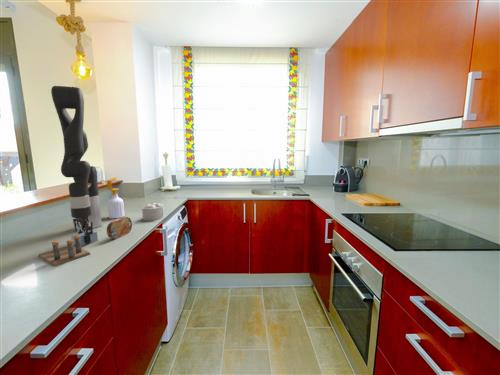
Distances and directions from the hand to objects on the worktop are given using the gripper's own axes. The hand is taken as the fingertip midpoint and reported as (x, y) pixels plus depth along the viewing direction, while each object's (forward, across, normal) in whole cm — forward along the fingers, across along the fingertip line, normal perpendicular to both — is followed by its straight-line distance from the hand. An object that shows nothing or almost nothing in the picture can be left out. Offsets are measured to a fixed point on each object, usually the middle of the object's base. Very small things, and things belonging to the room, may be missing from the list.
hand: (84, 241), depth 114 cm
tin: (+1, +4, +14) cm, 15 cm away
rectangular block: (+1, 0, 0) cm, 1 cm away
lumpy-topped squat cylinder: (+1, -10, +44) cm, 45 cm away
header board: (0, +8, -11) cm, 14 cm away
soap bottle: (+1, -32, +32) cm, 45 cm away
